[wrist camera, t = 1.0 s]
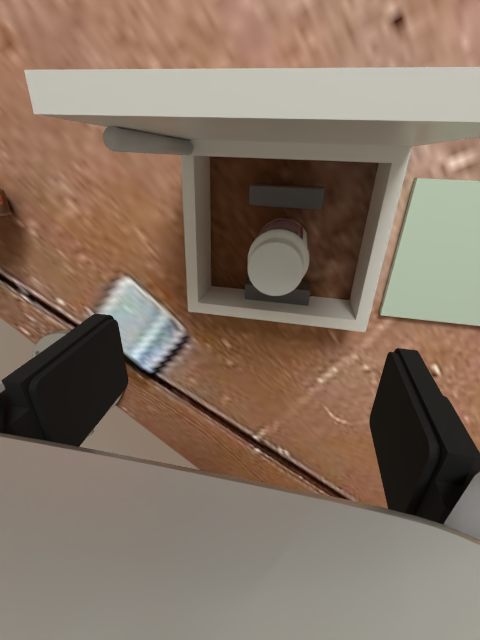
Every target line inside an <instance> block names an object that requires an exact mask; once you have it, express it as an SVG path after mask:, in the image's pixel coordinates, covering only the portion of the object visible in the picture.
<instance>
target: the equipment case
mask: <svg viewBox="0 0 480 640" xmlns="http://www.w3.org/2000/svg"><path fill="white" fill-rule="evenodd" d="M24 71H25V76H26V80H27V85H28V89H29V94H30V98H31V103H32V107H33V111H34V114H36V115H42V116H48V117H53V118H59V119H65V120H70V121H76V122H82V123H88V124H93V125H99V126H105V127H107V128H106V129H105V131H104V134H103V139H104V143H105V145H106V146H107V147H108V148H109V149H110V150H112V151H117V152H136V153H154V154H172V155H181V172H182V193H183V214H184V236H185V257H186V278H187V300H188V312H197V313H205V314H214V315H223V316H231V317H240V318H248V319H257V320H266V321H274V322H283V323H291V324H300V325H309V326H317V327H326V328H334V329H343V330H352V331H360V332H366V328H367V324H368V320H369V316H370V312H371V308H372V305H373V301H374V297H375V293H376V289H377V285H378V281H379V277H380V273H381V269H382V265H383V261H384V257H385V253H386V249H387V245H388V241H389V237H390V233H391V229H392V225H393V221H394V217H395V213H396V209H397V205H398V201H399V197H400V193H401V189H402V185H403V181H404V177H405V173H406V169H407V165H408V161H409V157H410V153H411V149H412V146H419V145H426V144H433V143H440V142H447V141H454V140H460V139H467V138H474V137H480V67H410V68H255V69H100V70H24ZM210 156H211V157H237V158H264V159H291V160H318V161H344V162H371V163H378V168H377V173H376V178H375V182H374V187H373V192H372V196H371V201H370V206H369V211H368V215H367V220H366V225H365V229H364V234H363V239H362V244H361V248H360V253H359V258H358V262H357V267H356V272H355V277H354V281H353V286H352V291H351V295H350V300H345V299H335V298H325V297H315V296H310V282H309V281H301V282H300V283H299V285H298V286H297V287H296V288H295V289H294V290H293V291H291V292H290V293H288V294H285V295H281V296H270V295H267V294H264V293H262V292H260V291H259V290H258V289H256V288H255V287H254V285H253V284H252V283H251V281H250V279H249V278H248V280H247V282H246V284H245V289H237V288H227V287H217V286H211V218H210ZM324 195H325V188H324V187H309V186H289V185H269V184H252V185H250V187H249V205H254V206H270V207H286V208H303V209H319V210H322V209H323V202H324Z"/></svg>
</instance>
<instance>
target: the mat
mask: <svg viewBox="0 0 480 640" xmlns="http://www.w3.org/2000/svg"><path fill="white" fill-rule="evenodd" d="M379 313H380V315H383V316H392V317H401V318H411V319H420V320H429V321H438V322H448V323H457V324H466V325H476V326H480V181H468V180H445V179H422V178H415V180H414V183H413V187H412V191H411V195H410V199H409V202H408V206H407V210H406V214H405V217H404V221H403V225H402V229H401V232H400V236H399V240H398V244H397V248H396V251H395V255H394V259H393V263H392V266H391V270H390V274H389V278H388V282H387V285H386V289H385V293H384V297H383V300H382V304H381V308H380V312H379Z"/></svg>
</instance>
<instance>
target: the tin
mask: <svg viewBox="0 0 480 640" xmlns="http://www.w3.org/2000/svg"><path fill="white" fill-rule="evenodd" d="M10 215H12V213H11V211H10V208H9V204H8V201H7V198H6V195H5V192H4V191H3V190H2V189H1V188H0V217H2V216H10Z"/></svg>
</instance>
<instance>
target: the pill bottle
mask: <svg viewBox="0 0 480 640" xmlns="http://www.w3.org/2000/svg"><path fill="white" fill-rule="evenodd" d="M309 261H310V257H309V241H308V235H307V233H306V231H305V229H304V227H303V226H302V225H301V224H300V223H299V222H297V221H295V220H293V219H291V218H285V217H283V218H276V219H273V220H271V221H270V222H268V223H267V224H266V225H265V226H264V227H263V228H262V229H261V231H260V232H259V234H258V236H257V237H256V239H255V240H254V241H253V243H252V245H251V247H250V249H249V253H248V268H247V270H248V276H249V279H250V281H251V283H252V284H253V285H254V287H255V288H256V289H258V290H259V291H260V292H262V293H264V294H267V295H270V296H281V295H285V294H288V293H290V292H291V291H293V290H294V289H295V288H296V287H297V286H298V285H299V283H300V282H301V280H302V278H303V277H304V275H305V274H306V272H307V269H308V266H309Z"/></svg>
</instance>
